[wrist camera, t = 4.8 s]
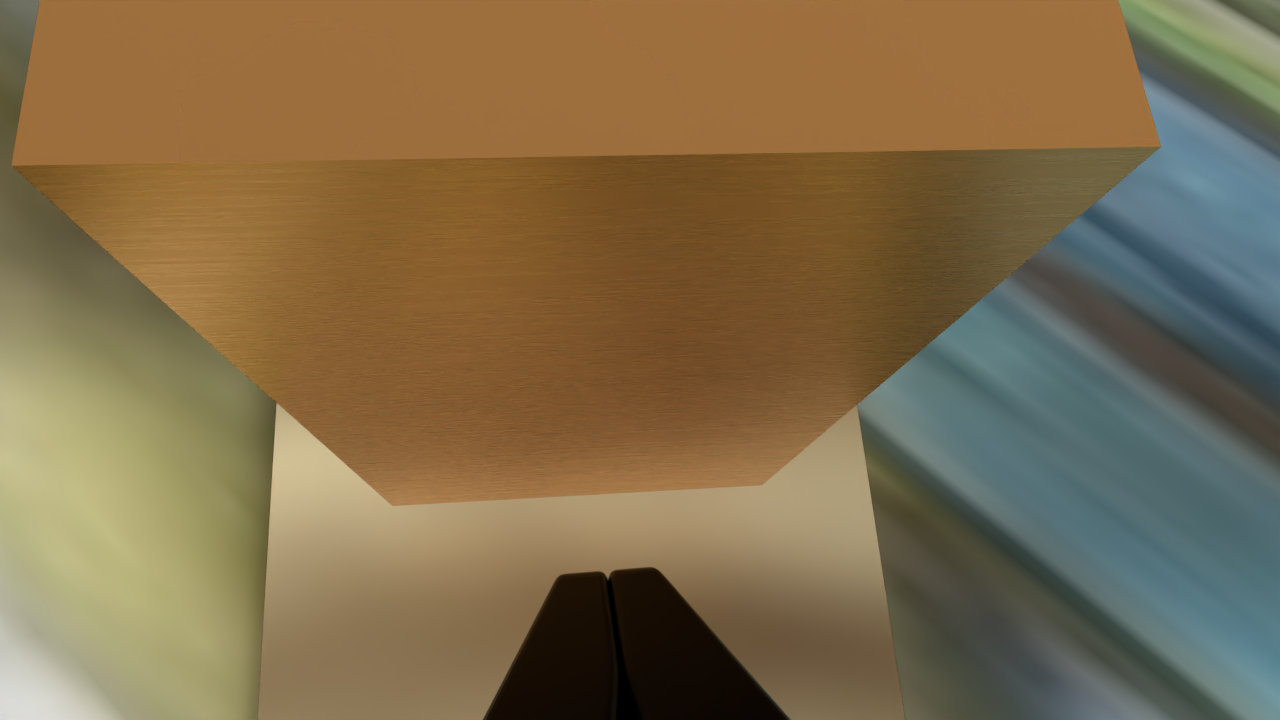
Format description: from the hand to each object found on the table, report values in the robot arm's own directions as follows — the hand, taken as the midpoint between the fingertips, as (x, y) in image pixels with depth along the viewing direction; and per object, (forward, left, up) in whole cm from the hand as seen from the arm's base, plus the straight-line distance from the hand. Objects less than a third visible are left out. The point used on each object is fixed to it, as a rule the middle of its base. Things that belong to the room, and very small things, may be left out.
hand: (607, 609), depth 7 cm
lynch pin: (+9, 0, -9) cm, 13 cm away
